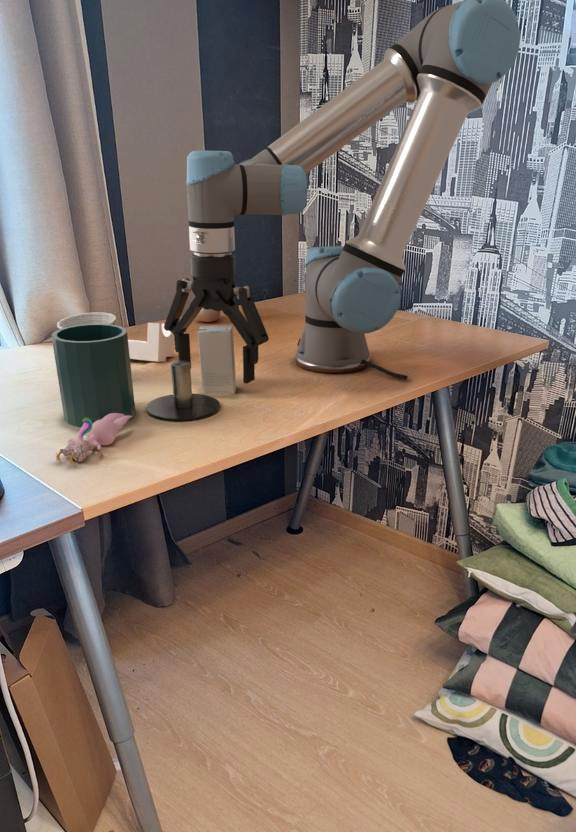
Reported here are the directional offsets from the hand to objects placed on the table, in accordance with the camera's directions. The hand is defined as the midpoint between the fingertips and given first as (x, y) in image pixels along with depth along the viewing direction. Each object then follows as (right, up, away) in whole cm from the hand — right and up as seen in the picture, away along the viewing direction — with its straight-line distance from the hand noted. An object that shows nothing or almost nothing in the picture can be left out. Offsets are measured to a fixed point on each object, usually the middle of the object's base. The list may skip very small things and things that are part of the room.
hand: (216, 375), depth 131 cm
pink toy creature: (-16, -15, -21) cm, 30 cm away
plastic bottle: (-7, +23, +49) cm, 55 cm away
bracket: (-18, +8, +22) cm, 30 cm away
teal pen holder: (-19, -9, -10) cm, 23 cm away
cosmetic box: (0, -3, +2) cm, 4 cm away
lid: (-5, -7, -7) cm, 11 cm away
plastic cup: (-24, 0, +8) cm, 25 cm away
